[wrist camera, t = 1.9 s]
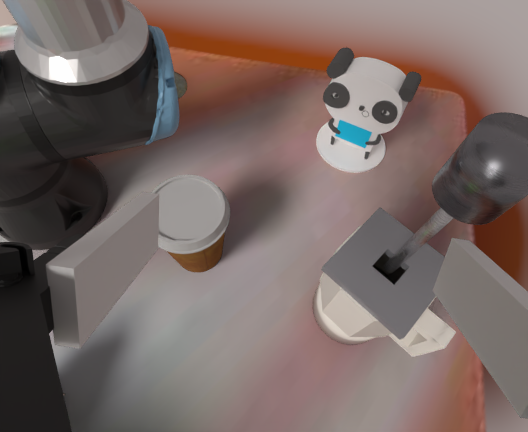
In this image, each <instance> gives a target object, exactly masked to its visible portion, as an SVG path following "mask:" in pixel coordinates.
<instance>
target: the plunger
mask: <svg viewBox="0 0 528 432" xmlns="http://www.w3.org/2000/svg"><path fill="white" fill-rule="evenodd" d="M432 191H433V195H434V198H435V200H436V201H437V203H438V205H439V206H440V207H441V208H440V209H439V210H438V211H437V212H436V213H435V214H434V215H433V216H432V217H431V218H430V219H429V220H428V221H427V222H426V223H425V224H424V225H423V226H422V227H421V228H420V229H419V230H418V231H417V232H416V233H415V234H414V235H413V236H412V237H411V238H410V239H409V240H408V241H407V242H406V243H405V244H404V245H403V246H402V247H401V248H400V249H399V250H398V251H397V252H396V253H395V254H394V255H393V256H392V257H391V258H390V259H389V261H388V262H387V263H386V264H385V265H384V267H383V268H384V271H385V272H386V273H389V274H391V273H393V272H394V271H395V270H397V269H398V268H399V267H400V266H401V265H402V264H403V263H404V262H405V261H407V260H408V259H409V258H410V257H411V256H412V255H413V254H414V253H415V252H417V251H418V250H419V249H420V248H421V247H422V246H423V245H424V244H425V243H427V242H428V241H429V240H430V239H431V238H432V237H433V236H434V235H435V234H437V233H438V232H439V231H440V230H441V229H442V228H443V227H444V226H445V225H447V224H448V223H449V222H450V221H451V220H452V219H453V218H455V219H457V220H459V221H461V222H464V223H467V224H474V225H482V224H487V223H489V222H492V221H493V220H495V219H496V218H497V217H499V216H500V215H502V214H503V213H504V212H505V211H507V210H508V209H509V208H511V207H512V206H514V205H515V204H516V203H518V202H519V201H520V200H522V199H523V198H524V197H526V196H527V195H528V118H527V117H524V116H522V115H518V114H513V113H494V114H491V115H488V116H486V117H484V118H483V119H482V120H481V121H480V122H479V123H478V124H477V125H476V127H475V128H474V129H473V130H472V131H471V133H470V134H469V135H468V136H467V138H466V139H465V140H464V141H463V142H462V144H461V145H460V146H459V147H458V148H457V150H456V151H455V152H454V153H453V155H452V156H451V157H450V158H449V159H448V161H447V162H446V163H445V164H444V166H443V167H442V168H441V169H440V170H439V172H438V173H437V174H436V175H435V177H434V179H433V182H432Z"/></svg>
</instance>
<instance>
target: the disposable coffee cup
mask: <svg viewBox="0 0 528 432" xmlns="http://www.w3.org/2000/svg"><path fill="white" fill-rule="evenodd" d="M151 193H155V194H159V235H158V247H159V248H161V249H163V250H165V251H167V252H168V253H169V254H170V255H171V256H172V257H173V258H174V259H175V260H176V261H177V262H178V263H179V264H180V265H181V266H182V267H183V268H185V269H186V270H188V271H192V272H204V271H207V270H209V269H211V268H212V267H214V266H215V265H216V264H217V263H218V261H219V260H220V258H221V255H222V249H223V241H224V234H225V230H226V228H227V226H228V224H229V219H230V206H229V202H228V199H227V197H226V196H225V194H224V192H223V191H222V190H221V189H220V188H219V187H217V186H216V185H215V184H214V183H213V182H211V181H210V180H208V179H206V178H203V177H201V176H197V175H179V176H176V177H172V178H169V179H167V180H166V181H164V182H162V183H161V184H159V185H158V186H157V187H156V188H155V189H154V190H153V191H152V192H151Z"/></svg>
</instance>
